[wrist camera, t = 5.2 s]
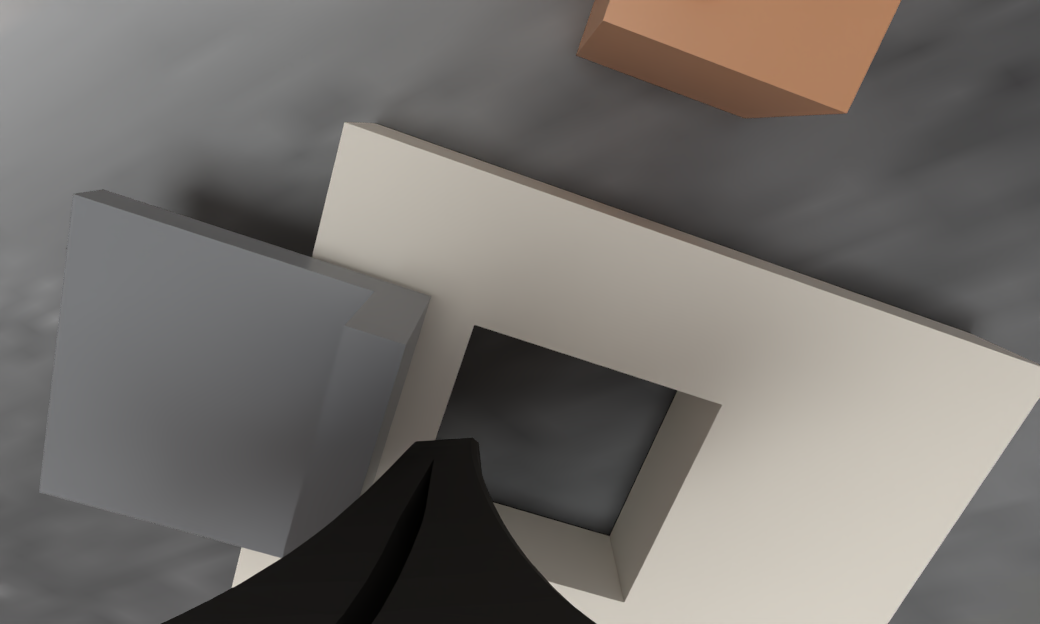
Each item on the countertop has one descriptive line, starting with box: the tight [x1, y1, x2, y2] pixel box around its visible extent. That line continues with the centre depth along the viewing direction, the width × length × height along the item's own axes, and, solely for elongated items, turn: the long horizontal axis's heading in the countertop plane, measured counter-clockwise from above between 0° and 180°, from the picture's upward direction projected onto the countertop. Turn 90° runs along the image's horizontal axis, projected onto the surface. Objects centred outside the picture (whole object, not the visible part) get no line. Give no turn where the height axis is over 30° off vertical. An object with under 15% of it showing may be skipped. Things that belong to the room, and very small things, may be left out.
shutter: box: [39, 190, 431, 558], centre depth 11 cm, size 7×7×3 cm
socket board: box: [232, 122, 1040, 624], centre depth 15 cm, size 16×12×2 cm
